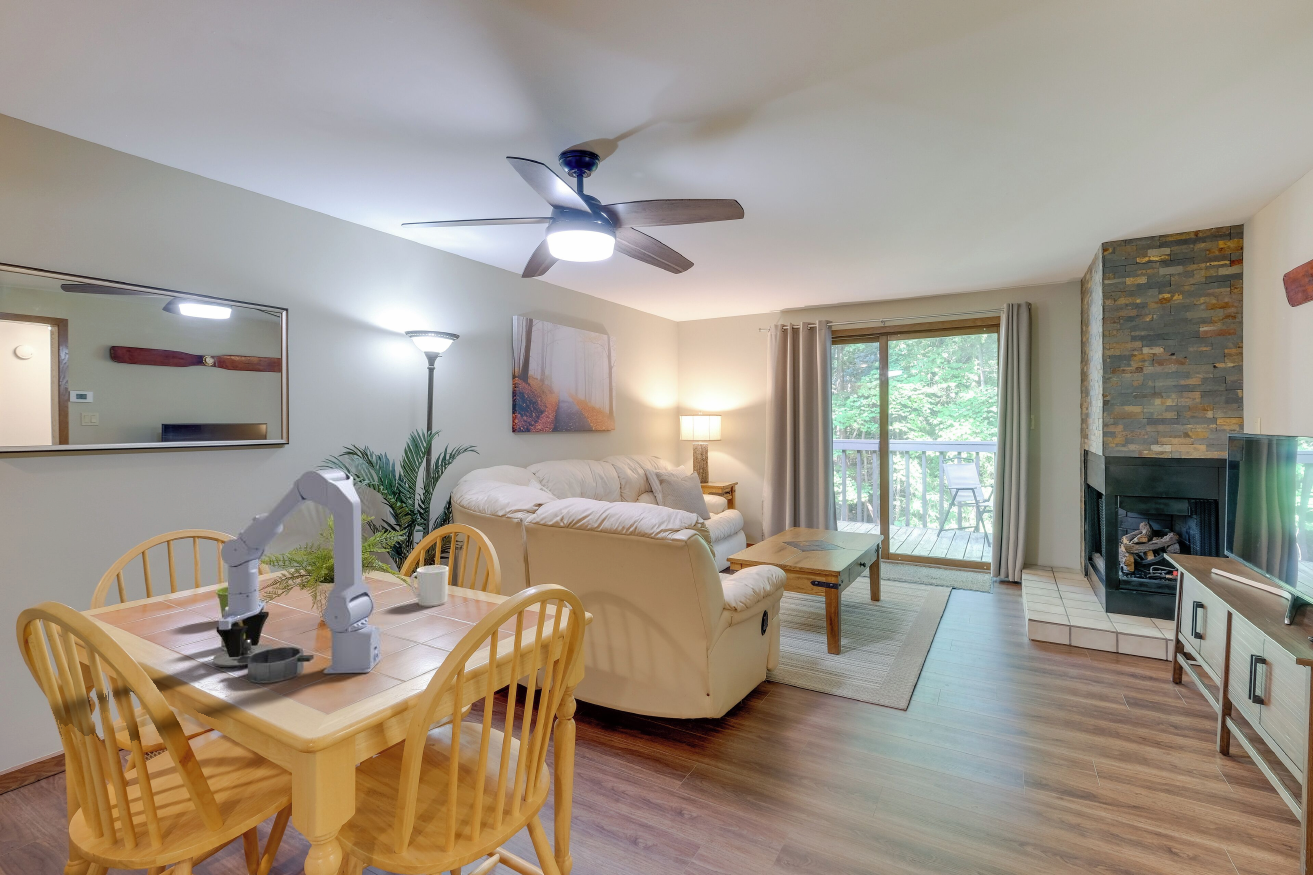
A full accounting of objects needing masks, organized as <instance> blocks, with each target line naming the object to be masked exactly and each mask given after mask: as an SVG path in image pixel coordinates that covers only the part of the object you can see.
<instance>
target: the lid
mask: <svg viewBox="0 0 1313 875" xmlns="http://www.w3.org/2000/svg"><path fill="white" fill-rule="evenodd" d="M273 648H274V647H273V646H272V645H269V644H264V643H263V644H261V643H258V645H257V646H251V638H243V643H242V652H241V656H239V657H229V655H228V652H227V650H223V651H220V652H218V653H217V654H215V655H214V656H213V658H212V659H213V660H212V661H213V662H212V663H213V665H215V666H217V667H225V668H226V667H227V668H229V667H230V668H231V667H233V668H235V667H245V666H246V667H247V666H248V663H238V659H239V658H241V657H242V656H252V655H253V654H255V653H258V652H261V651H264V650H268V649H273Z"/></svg>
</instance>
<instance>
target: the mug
mask: <svg viewBox="0 0 1313 875" xmlns="http://www.w3.org/2000/svg"><path fill="white" fill-rule="evenodd" d="M415 578H416V581H417V582H416V584H417V591H416V588H415V587H416V586H415V583H414V581H415ZM448 578H449V566H446V565H441V564H440V565H439V564H438V565H437V564H435V565H425V566H422V567H419V568H417V569H416V572H415V573H413V574H412V575H411V577H410V586H411V589H412V592H413V594H414V596H415V597H416V598H417V600H418V606H420V607H423V608H433V607H432V606H435V607H439V606H438V605H440V606H443V605H445V604H446V603H447V602H448V585H449V583H448V582H449V579H448ZM444 603H445V604H444ZM442 604H443V605H442Z"/></svg>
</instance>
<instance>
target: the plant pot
mask: <svg viewBox="0 0 1313 875" xmlns="http://www.w3.org/2000/svg"><path fill="white" fill-rule="evenodd" d="M214 593H215V594H216V595H217V598H218V600H219V608H220V612H221V619H222V618H223V617H224V616H225V615H223V611H225V608H226V607H228V585H227V586H223V587H220V588H218V589H216V590H215V592H214Z"/></svg>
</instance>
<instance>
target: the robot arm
mask: <svg viewBox="0 0 1313 875" xmlns="http://www.w3.org/2000/svg"><path fill="white" fill-rule="evenodd" d="M308 501H310V502H312V503H315V504H318V505H320V506H322V507H325V508H326V509H327V510H328V511H330V513H332V515H333V516H332V518H333V519H332V521H333V523H332V524H333V573H334V576H333V578H334V579H333V581H334V582H333V583H334V585H333V587H331V588H332V589H331V590H330V592H329V593H328V595H327V598H326V600H327V602H326V607H325V608H324V611H323V614H322V615H323V617H322V618H323V620H324V624H325V625H326V627H327V628H328V629H329V632H330V634H331V635H330V642H331V643H330V651H331V652H330V654H331V655H330V657H331V659H330V660H331V661H330V663H331V664H329V666H328V667H326V668H325V670H323V671H322V672H323V674H353V673H355V674H356V673H357V674H358V673H359V674H360V673H361V674H362V673H364V674H365V673H369V672H370V671H371V670H372V669H374V667H375V666H376V665H377V664H378V663H379V662H380V661H381V660H382V656H381V630H380V627H379V626H377V625H370V624H368V623H369V620H370V619H369V618H370V616H371V615H372V614H373V611H374V610H375V609H374V608H375V601H374V598H373V597H372V595H371V587H370V586H369V585H368V584H367V583H365V582H364V581H363V560H362V559H363V554H362V553H363V552H362V550H363V547H362V545H363V544H362V542H363V541H362V538H363V537H362V503H361V502H362V501H361V499H360V497H359V495H358V493H357V491H356V488H355V486H354V476H352V475H351V474H349V472H347V471H346V470H345V469H343V468H340V467H334V468H330V469H321V470H308V471H307V470H306V471H305V472H304V473H302V474H301V475H300V477H299V478H297V479H295V481H294V482H293V483H292V487H291V488H290V489H289V490H288V491H287V493H286V494H285V495H284V496H283V497H282V498H281V500H280V501H279V502H278V503H277V504H276V505H275V506H274V507H273V509H272V510H271V511H269V513H261V514H259V515H255V516H253V518H252V519H251V520H252V522H251V523H250V524H249V525H248V526H247V527H246V528H245V529H244V530H241V531H240V532H239V533H238V536H237V537H236V538H235V539H234V538H232V539H228V540H226V541H225V542H224V544H223V545H222V547H221V548H220V556H221V560H222V561H223V562H224V563H225V564H226V565H227V586H228V610H225V611H223V615H225V616H224V617H223V619H222V618H221V619H220V620H218V626H216V629H215V630H216V631H215V632H216V633H217V635H219V637H220V638H222V640H223V641H224V644H225V646H226V649H227V652H228V655H229V657H239V656H241V652H242V643H243V638H244V634H245V638H251V646H257V645H258V644H260V643H259V642H260V640H261V639H260V638H261V634H262V631H263V628H264V625H265V623H266V621H267V619H268V618H269V615H270V613H269V611H264V610H266V609H267V608H266V607H267V601H266V600H260V599H259V598H260V597H259V591H260V590H259V567H260V566H261V559H262V558H263V556H264V555H265V552H266V548H267V547H268V546H269V545H270V543H272V542H273V541H274V540H275V538H277V537H278V535H280V533H281V534H282V532H283V530H284V525H283V523H284V522H285V521H286V520H288V519H289V518H290V517H291V516H293V515H294V514H295V513H296V512H297V511H298V510H299V509H300V508H301V507H302V506H304V505H305V504H306V503H307V502H308ZM240 621H242V623H243V626H240V624H239V625H238V622H240Z"/></svg>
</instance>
